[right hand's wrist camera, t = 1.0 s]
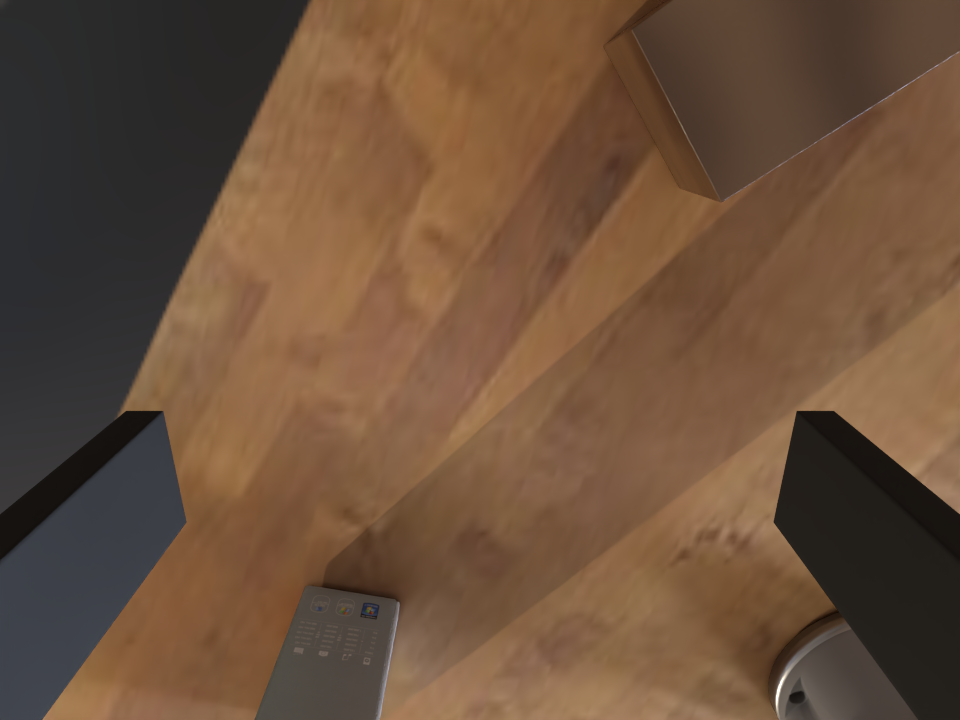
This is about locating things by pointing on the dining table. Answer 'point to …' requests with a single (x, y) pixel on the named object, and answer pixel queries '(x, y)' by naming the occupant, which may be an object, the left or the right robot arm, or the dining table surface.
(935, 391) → the dining table surface
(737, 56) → the wide beam
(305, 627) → the hard drive box
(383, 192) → the dining table surface
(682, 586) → the dining table surface
